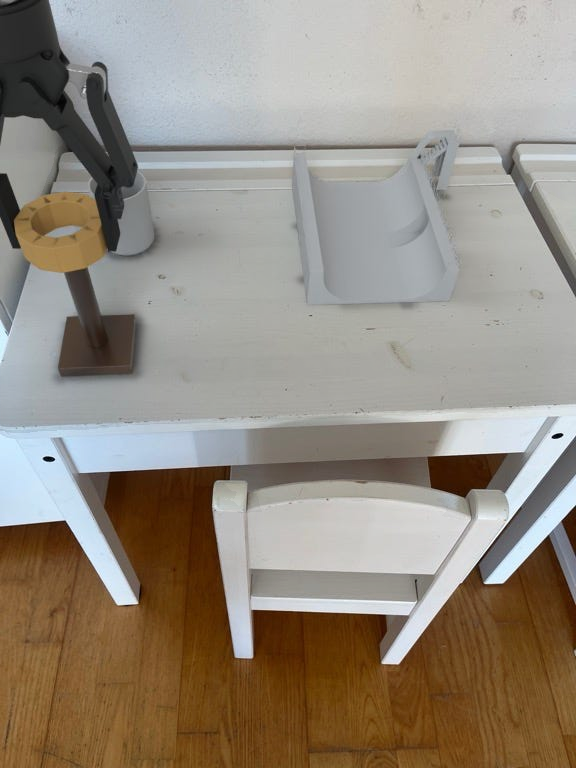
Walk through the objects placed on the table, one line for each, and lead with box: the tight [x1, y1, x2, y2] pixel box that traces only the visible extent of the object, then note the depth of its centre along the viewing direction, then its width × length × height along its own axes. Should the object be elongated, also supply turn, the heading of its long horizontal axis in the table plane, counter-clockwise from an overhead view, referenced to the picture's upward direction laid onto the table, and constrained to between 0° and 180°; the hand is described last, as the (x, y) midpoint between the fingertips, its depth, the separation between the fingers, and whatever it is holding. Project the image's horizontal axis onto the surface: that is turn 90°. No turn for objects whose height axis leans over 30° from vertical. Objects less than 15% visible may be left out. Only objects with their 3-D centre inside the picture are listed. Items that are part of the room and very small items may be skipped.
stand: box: [57, 266, 137, 378], centre depth 69 cm, size 8×8×14 cm
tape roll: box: [14, 191, 108, 274], centre depth 61 cm, size 8×8×3 cm
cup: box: [74, 170, 156, 257], centre depth 83 cm, size 7×10×9 cm
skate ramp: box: [291, 121, 463, 306], centre depth 85 cm, size 25×23×10 cm
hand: (67, 240), depth 62 cm, fingers closed on tape roll, 8 cm apart
